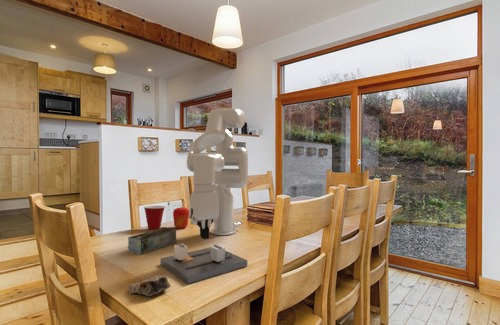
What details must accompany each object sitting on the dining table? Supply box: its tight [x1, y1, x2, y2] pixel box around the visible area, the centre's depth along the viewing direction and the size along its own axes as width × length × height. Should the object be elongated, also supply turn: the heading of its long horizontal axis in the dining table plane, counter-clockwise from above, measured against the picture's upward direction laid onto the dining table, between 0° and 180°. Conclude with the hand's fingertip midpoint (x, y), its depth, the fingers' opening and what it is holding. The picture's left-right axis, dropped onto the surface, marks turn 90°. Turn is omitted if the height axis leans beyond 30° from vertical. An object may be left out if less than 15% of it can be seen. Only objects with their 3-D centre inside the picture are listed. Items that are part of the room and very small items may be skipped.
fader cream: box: [173, 242, 189, 260], centre depth 95 cm, size 3×4×4 cm
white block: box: [210, 244, 226, 262], centre depth 94 cm, size 3×4×4 cm
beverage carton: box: [127, 226, 177, 255], centre depth 115 cm, size 8×19×7 cm, turn 151°
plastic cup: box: [143, 205, 166, 231], centre depth 145 cm, size 11×11×12 cm
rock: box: [128, 274, 171, 297], centre depth 76 cm, size 9×6×10 cm
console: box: [160, 246, 248, 285], centre depth 95 cm, size 22×20×2 cm
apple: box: [172, 206, 190, 230], centre depth 148 cm, size 9×8×12 cm
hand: (204, 238), depth 102 cm, fingers closed
